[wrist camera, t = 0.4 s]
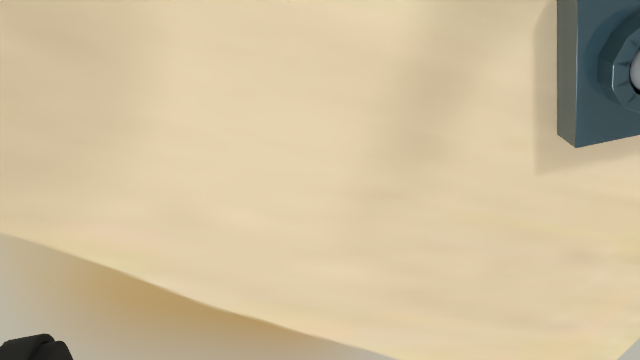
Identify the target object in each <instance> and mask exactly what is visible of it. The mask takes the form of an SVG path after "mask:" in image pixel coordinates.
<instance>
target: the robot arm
mask: <svg viewBox="0 0 640 360" xmlns="http://www.w3.org/2000/svg"><path fill="white" fill-rule="evenodd" d="M0 360H73V358H72V356H71V354H70V352H69V349H68V347H67V346H66V344H65V343H64V342H63V341H54V339H53V337H52V336H50V335H49V334H39V335H34V336H29V337H23V338H18V339H13V340H8V341H6V342H4V344H3V345H2V346H1V347H0Z"/></svg>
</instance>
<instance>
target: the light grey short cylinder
mask: <svg viewBox="0 0 640 360" xmlns="http://www.w3.org/2000/svg"><path fill="white" fill-rule="evenodd" d="M630 76H631V80H632V82H633V84H634V86H635V87H636V88H637V89H639V90H640V49H639V50H638V52H637V53H636V55H635V56H634V58H633V60H632V63H631V67H630Z"/></svg>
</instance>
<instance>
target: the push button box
mask: <svg viewBox="0 0 640 360" xmlns="http://www.w3.org/2000/svg"><path fill="white" fill-rule="evenodd" d="M639 49H640V0H557V90H558V135H559V136H560V137H561V138H563V139H564V140H565V141H567V142H568V143H569V144H571V145H572V146H573V147H575V148H579V147H583V146H588V145H593V144H598V143H603V142H607V141H612V140H617V139H622V138H626V137H631V136H636V135H640V90H639V89H637V88H636V87H635V86H634V84H633V82H632V80H631V76H630V67H631V63H632V60H633V58H634V56H635V55H636V53H637V52H638V50H639Z"/></svg>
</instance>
